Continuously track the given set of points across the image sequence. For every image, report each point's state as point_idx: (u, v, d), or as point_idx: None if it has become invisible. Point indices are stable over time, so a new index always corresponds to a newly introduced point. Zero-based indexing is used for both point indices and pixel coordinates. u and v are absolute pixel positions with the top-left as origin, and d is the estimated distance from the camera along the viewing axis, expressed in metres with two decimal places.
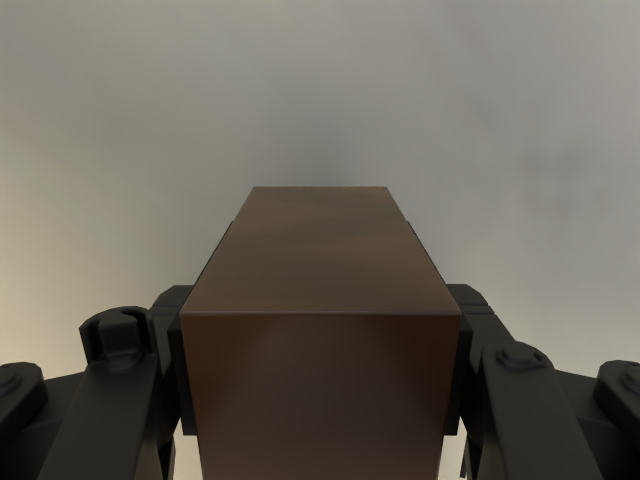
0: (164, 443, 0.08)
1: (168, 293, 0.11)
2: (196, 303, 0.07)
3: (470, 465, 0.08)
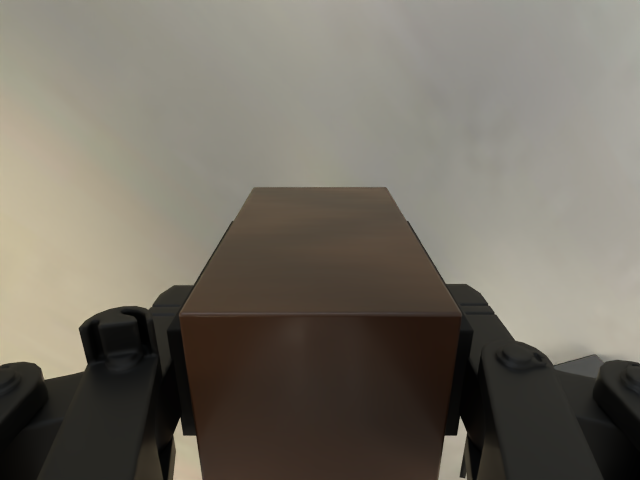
0: (164, 443, 0.08)
1: (168, 293, 0.11)
2: (195, 305, 0.07)
3: (470, 465, 0.08)
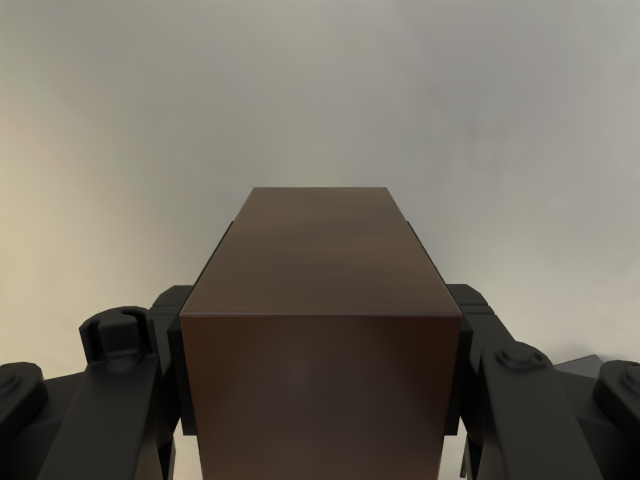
0: (164, 443, 0.08)
1: (168, 292, 0.11)
2: (196, 305, 0.07)
3: (470, 465, 0.08)
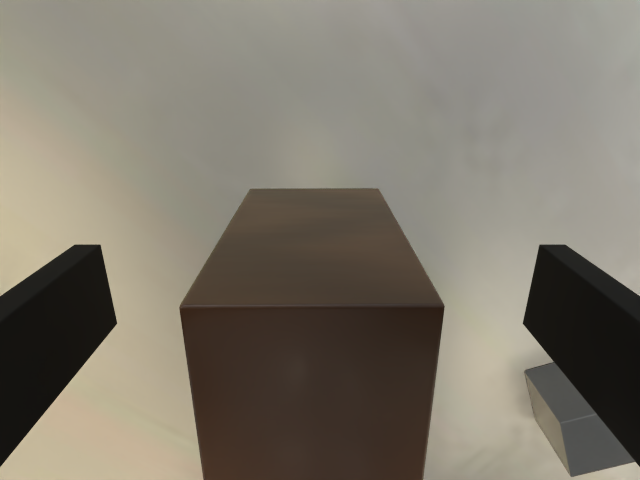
0: None
1: None
2: (195, 298, 0.07)
3: None
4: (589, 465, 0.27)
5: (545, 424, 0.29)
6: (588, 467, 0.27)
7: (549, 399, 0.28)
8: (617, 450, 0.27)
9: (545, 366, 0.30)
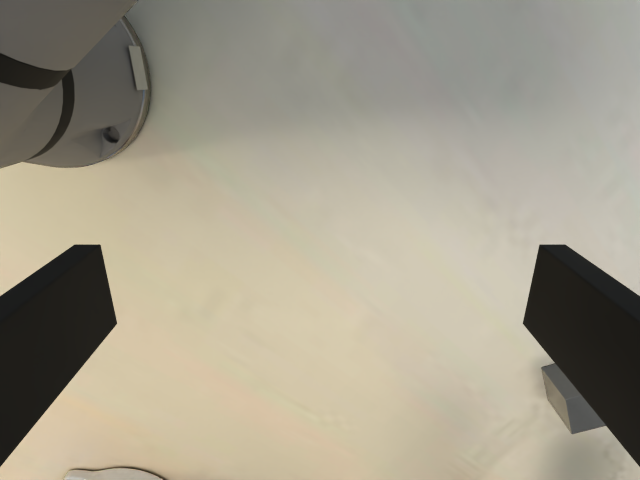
0: None
1: None
2: None
3: None
4: (583, 426, 0.43)
5: (555, 402, 0.46)
6: (583, 427, 0.43)
7: (558, 385, 0.44)
8: None
9: (555, 364, 0.46)
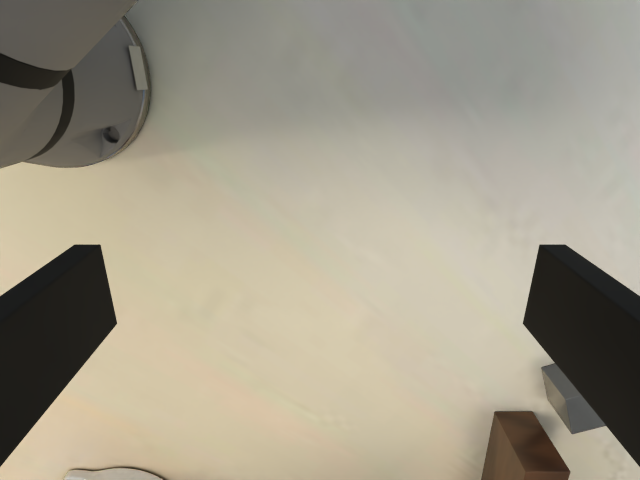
0: None
1: None
2: (526, 469, 0.42)
3: None
4: (583, 426, 0.43)
5: (555, 402, 0.46)
6: (582, 427, 0.43)
7: (558, 385, 0.44)
8: None
9: (555, 364, 0.46)
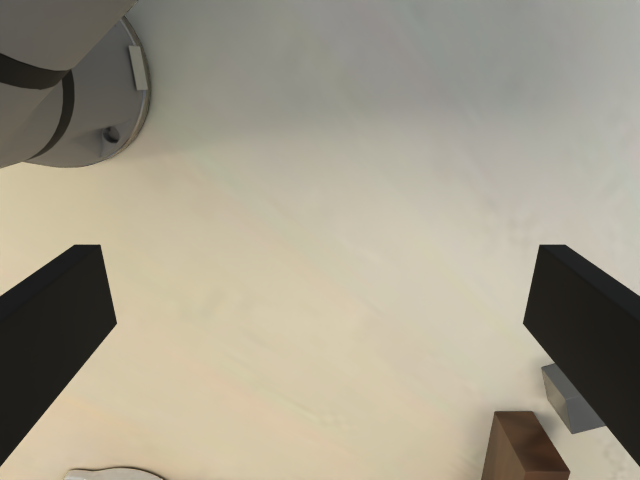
0: None
1: None
2: (526, 469, 0.42)
3: None
4: (583, 426, 0.43)
5: (555, 402, 0.46)
6: (582, 427, 0.43)
7: (558, 385, 0.44)
8: None
9: (555, 364, 0.46)
